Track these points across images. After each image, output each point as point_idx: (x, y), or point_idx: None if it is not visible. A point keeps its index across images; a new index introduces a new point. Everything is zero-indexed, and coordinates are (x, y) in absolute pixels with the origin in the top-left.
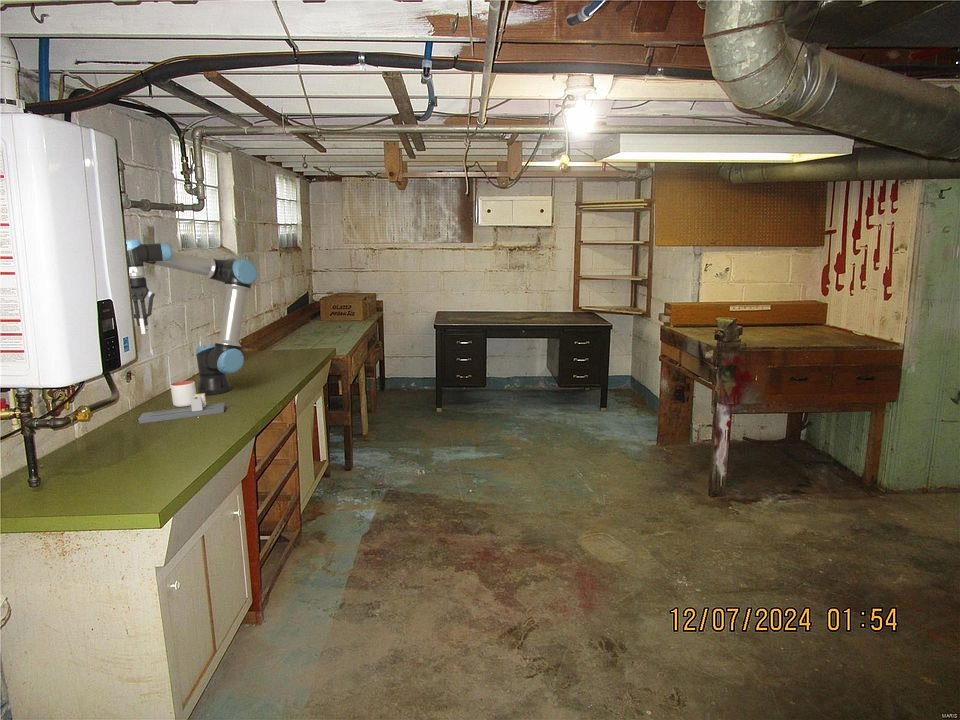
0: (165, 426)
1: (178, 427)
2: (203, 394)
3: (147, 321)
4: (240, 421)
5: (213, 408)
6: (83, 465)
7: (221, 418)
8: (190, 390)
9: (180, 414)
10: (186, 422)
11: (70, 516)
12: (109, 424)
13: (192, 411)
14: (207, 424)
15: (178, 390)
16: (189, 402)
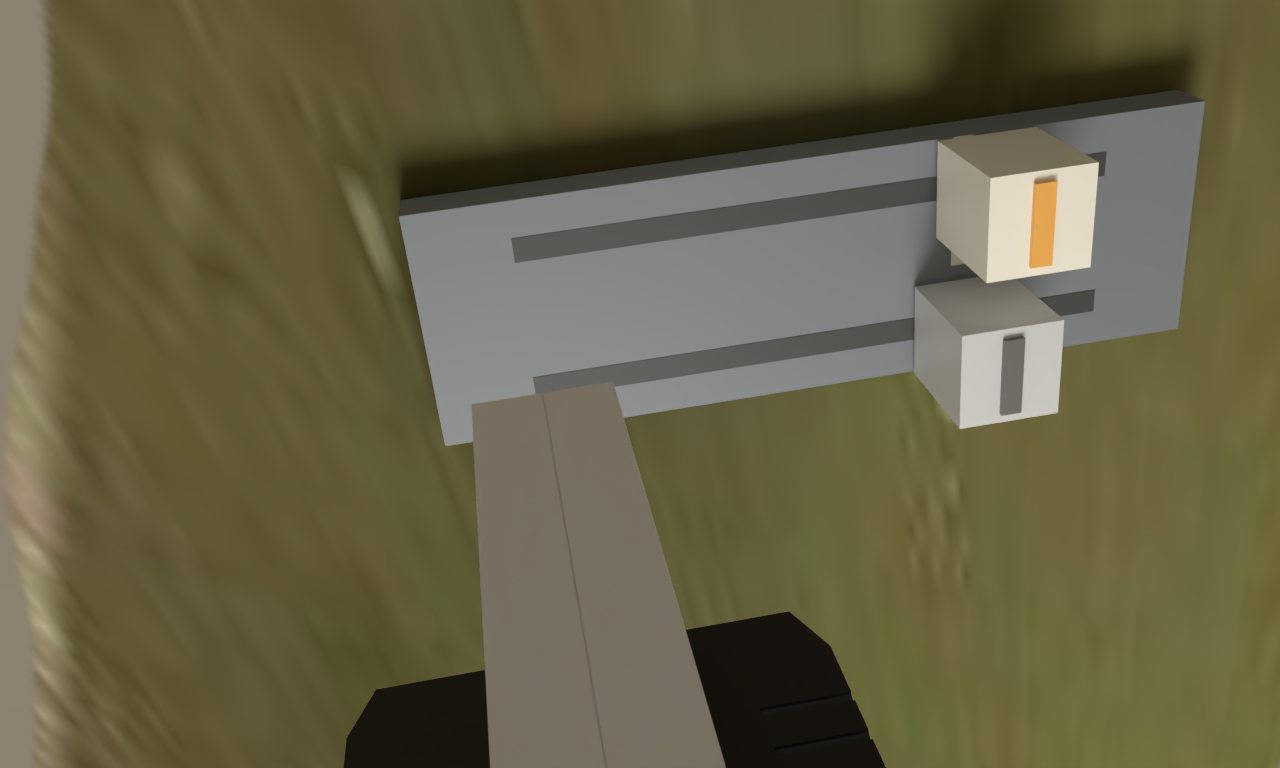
0: (711, 577)
1: (819, 632)
2: (1083, 223)
3: (874, 760)
4: (1241, 613)
5: (1095, 310)
6: None
7: (1123, 490)
8: None
9: (807, 383)
10: (862, 516)
11: None
12: (124, 346)
13: (917, 373)
14: (1021, 618)
15: None
16: None
